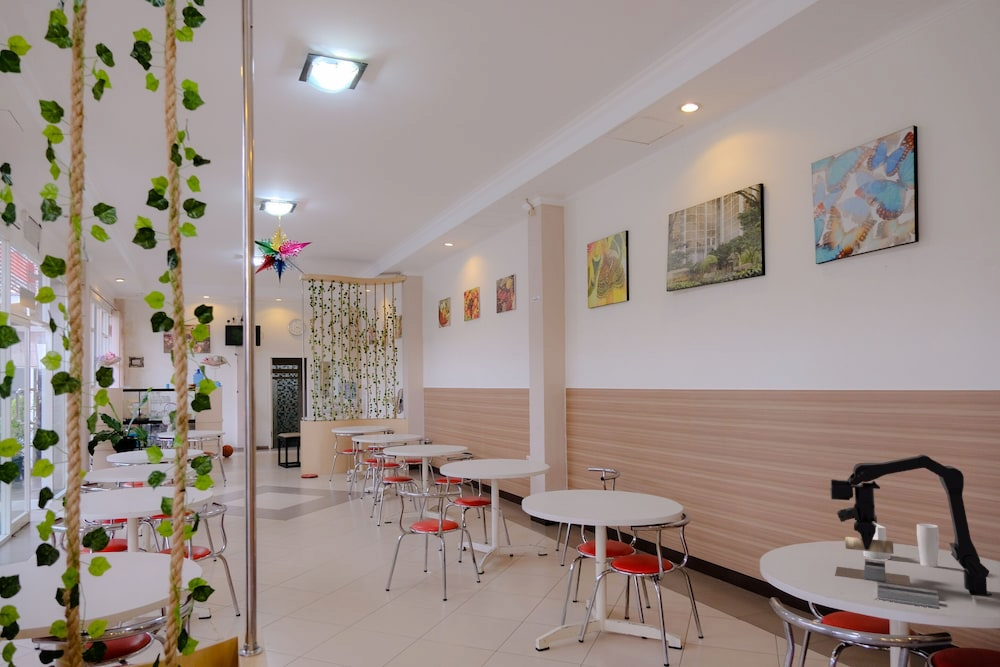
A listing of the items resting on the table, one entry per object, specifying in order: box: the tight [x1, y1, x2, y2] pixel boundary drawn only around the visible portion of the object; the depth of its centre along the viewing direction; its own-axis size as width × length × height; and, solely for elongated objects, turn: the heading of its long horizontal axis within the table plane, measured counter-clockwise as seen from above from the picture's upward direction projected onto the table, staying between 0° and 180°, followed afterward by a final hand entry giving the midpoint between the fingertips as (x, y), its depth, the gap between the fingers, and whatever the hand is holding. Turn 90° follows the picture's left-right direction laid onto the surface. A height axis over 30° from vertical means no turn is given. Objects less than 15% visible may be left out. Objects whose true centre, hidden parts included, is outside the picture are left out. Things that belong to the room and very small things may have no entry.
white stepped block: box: [862, 522, 892, 561], centre depth 254 cm, size 9×9×12 cm
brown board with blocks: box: [834, 558, 911, 587], centre depth 227 cm, size 22×12×5 cm, turn 60°
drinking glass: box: [916, 522, 940, 568], centre depth 240 cm, size 7×7×15 cm
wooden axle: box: [844, 536, 894, 555], centre depth 224 cm, size 14×4×4 cm, turn 59°
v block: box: [876, 582, 940, 610], centre depth 206 cm, size 16×9×3 cm, turn 60°
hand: (867, 547), depth 225 cm, fingers closed on wooden axle, 4 cm apart
